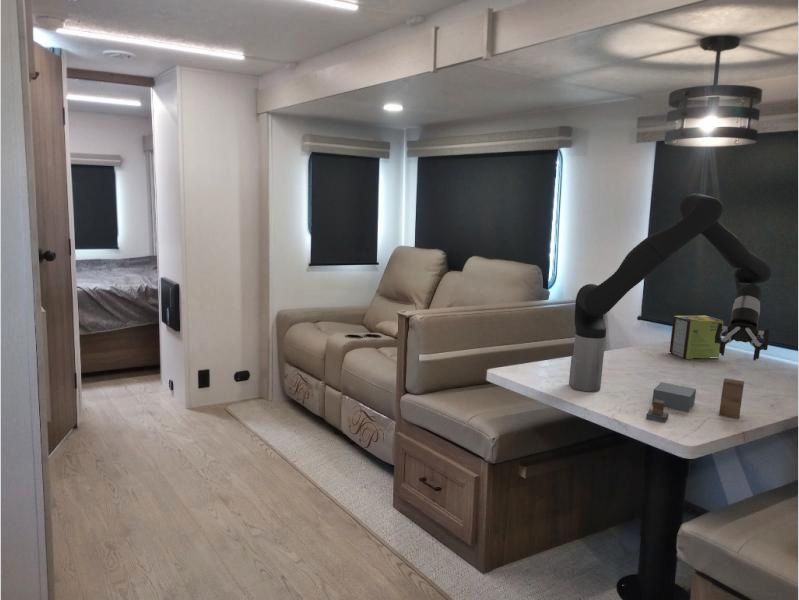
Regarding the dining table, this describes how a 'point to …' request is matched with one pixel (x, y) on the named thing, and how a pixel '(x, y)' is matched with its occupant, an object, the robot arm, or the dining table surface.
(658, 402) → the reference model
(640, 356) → the dining table surface
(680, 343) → the protein box
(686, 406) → the slate base block
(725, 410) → the walnut block
